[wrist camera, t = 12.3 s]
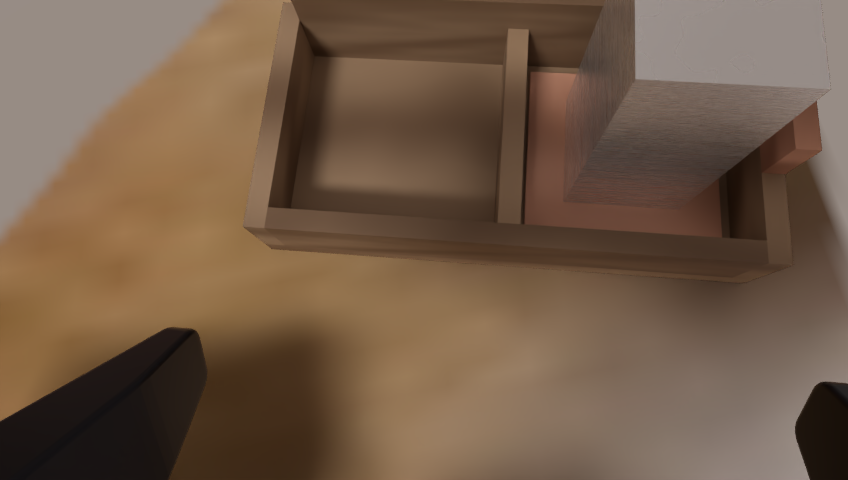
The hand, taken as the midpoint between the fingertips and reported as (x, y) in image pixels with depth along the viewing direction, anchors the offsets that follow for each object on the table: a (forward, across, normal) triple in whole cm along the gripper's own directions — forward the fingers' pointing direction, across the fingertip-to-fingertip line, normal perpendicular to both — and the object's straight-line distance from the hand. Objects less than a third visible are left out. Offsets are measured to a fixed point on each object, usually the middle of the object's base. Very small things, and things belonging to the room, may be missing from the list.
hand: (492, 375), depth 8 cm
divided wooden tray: (+16, -1, +3) cm, 17 cm away
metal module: (+16, -6, +2) cm, 17 cm away
